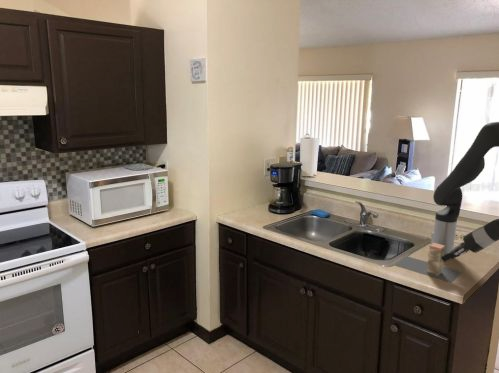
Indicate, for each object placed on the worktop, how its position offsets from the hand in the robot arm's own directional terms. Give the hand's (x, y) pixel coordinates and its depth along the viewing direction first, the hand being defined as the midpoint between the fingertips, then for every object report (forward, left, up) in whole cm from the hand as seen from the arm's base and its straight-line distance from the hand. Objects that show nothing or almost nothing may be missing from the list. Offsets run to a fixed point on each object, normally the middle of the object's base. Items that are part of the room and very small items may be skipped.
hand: (443, 259), depth 172 cm
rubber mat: (-6, -2, -7) cm, 10 cm away
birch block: (-2, -2, -7) cm, 7 cm away
